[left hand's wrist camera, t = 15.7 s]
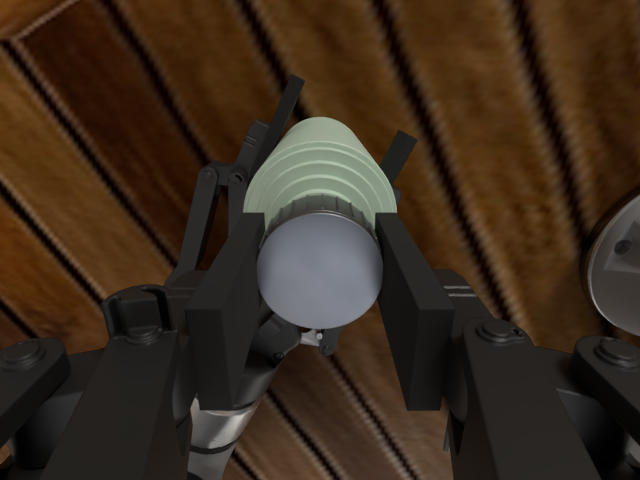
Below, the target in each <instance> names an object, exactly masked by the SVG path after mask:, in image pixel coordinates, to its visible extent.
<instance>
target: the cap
mask: <svg viewBox="0 0 640 480" xmlns="http://www.w3.org/2000/svg"><path fill="white" fill-rule="evenodd" d="M377 240H378V239H377V236H376V234H375V231H374V228H373V226H372V223H371V222H369V221H368V220H367V218H366V217H365V215H364V213H363V211H360V210H359V209H357V208H356V207H355V206H354V205H353V204H352V202H350V203H349V202H347V201H345V200H342V199H340V198H339V197H338V196H336V197H333V196H327V195H324V194H321V195H313V196H309V195H306V197H303V198H300V199H297V200H292V202H291V203H289V204H288V205H286V206H285V207H284V208H282V207H281V208H280V210H279V212H278V213H277V214H276V216H275V217H274V218H271V220H270V222H269V225H268V228H267V230H265V232H264V235H263V237H262V240H261V242H260V245H259V247H258V249H259V253H258V256H257V260H256V267H257V282H258V289H259V291H260V293H261V295H262V297H263V299H264V301H265V302H266V303H267V305H268V306H269V307H270V308H271V309H272V310H273V311H274V312H275V313H276V314H277V315H278V316H280V317H281V318H283V319H284V320H286V321H288V322H290V323H292V324H295V325H298V326H301V327H305V328H312V329H328V328H334V327H339V326H342V325H345V324H347V323H350V322H352V321H354V320H355V319H357V318H358V317H360V316H361V315H362V314H364V313H365V312H366V311H367V310H368V309H369V308H370V307H371V306H372V304H373V303H374V302H375V300H376V299H377V297H378V295H379V293H380V291H381V288H382V279H383V257H382V251H381V249H380V246H379V243H378V241H377Z"/></svg>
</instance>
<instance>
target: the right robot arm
mask: <svg viewBox="0 0 640 480" xmlns="http://www.w3.org/2000/svg"><path fill="white" fill-rule="evenodd" d="M304 83H305V80H303V79H301V78H299V77H297V76H295V75H293V74H291V77H290V79H289V81H288V84H287V86H286V89H285V91H284V93H283V96H282V98H281V100H280V103H279V105H278V108H277V110H276V112H275V115H274V117H273V119H272V122H271V124H269V123H267V122H265V121H263V120H261V119H258V120H256V121H255V122H254V123H253V124H252V125H251V126H250V127H249V130H248V132H247V135H246V137H245V140H244V142H243V145H242V147H241V150H240V152H239V155H238V157H237V159H236V161H235V163H222V162H220V161H213V162H211V163H210V164H208V165H207V166H205V167H204V168H202V169H201V170H200V172H199V174H198V178H197V183H196V187H195V191H194V196H193V200H192V204H191V209H190V213H189V217H188V222H187V226H186V230H185V235H184V239H183V243H182V248H181V252H180V256H179V261H178V265H177V267H176V268H175V270H174V271H173V272H172V274H171V275H170V276H169V278H168V279H167V280H166V282H165V284H164V286H165V287H167V288H168V289H169V290H170V287H171V286H172V284H173V283H174V282H175V280H176V279H177V278H178V277H180V276H182V275H183V274H185V273H187V272H188V271H190V270H203V268H202V267H201V266H199V264H200V262H201V261H202V259H203V257H204V254H205V251H206V247H207V243H208V239H209V235H210V231H211V227H212V223H213V219H214V216H215V212H216V208H217V204H218V200H219V196H220V192H221V188H222V185H226V186H228V237H229V235H230V234H231V232H232V231H233V229H234V227H235V226H236V224H237V222H238V221H239V219H240V218H241V216H242V214H243V208H244V200H245V196H246V192H247V190H248V187H249V185H250V183H251V181H252V179H253V176H255V174H256V173H257V171H258V170H259V169H260V167H261V166H262V165H263V164H264V162H265V161H266V160H267V158H268V157H269V156H270V154H271V153H272V152H273V150H274V149H275V148H276V146H277V145H278V142H279V140H280V138H281V135H282V133H283V131H284V128H285V126H286V124H287V122H288V119H289V117H290V115H291V112H292V110H293V108H294V105H295V103H296V101H297V99H298V96H299V94H300V92H301V89H302V87H303V85H304ZM416 142H417V139H416V138H414V137H412V136H410V135H408V134H406V133H404V132H402V131H400V130H398V132H397V134H396V136H395V138H394V140H393V141H392V143H391V145H390V147H389V149H388V151H387V152H386V154H385V156H384V158H383V160H382V162H381V164H380V165H379V167H380V169H381V170H382V171H383V173H384V174H385V176H386V178H387V179H388V181H389V183H390V185H391V187H392V190H393V193H394V196H395V201H396V206H397V205H398V203H399V201H400V198H401V191H400V190H399V189H398V187H396V186H394V185H393V183H394V181H395V179H396V178H397V176H398V174H399V172H400V170H401V169H402V167H403V165H404V163H405V162H406V160H407V158H408V156H409V155H410V153H411V151H412V149H413V147H414V146H415V144H416ZM345 325H346V324H345ZM345 325H342V326H339V327H334V328H328V329H312V328H305V327H301V326H298V325H295V324H292V323H290V322H288V321H286V320H284V319H283V318H281V317H280V316H278V315H277V314H276V313H275V312H274V311H273V310H272V309H271V308H270V307H269V306H268V305H267V303H266V302H265V301H264V299H263V300H262V304H261V307H260V311H259V315H258V318H257V322H256V326H255V329H254V333H253V337H252V340H251V344H250V348H249V351H248V355H247V359H246V363H245V366H244V370H243V374H242V377H241V381H240V385H239V388H238V392H237V396H236V399H235V403H234V407H233V410H232V411H200V409H199V403H198V396H197V393H196V396H195V398H194V401H193V403H192V406H191V408H190V409H191V415H192V422H193V430H192V438H191V446H190V454H189V462H188V470H187V478H186V480H222V476H223V473H224V469H225V466H226V464H227V461H228V459H229V457H230V455H231V453H232V451H233V449H234V447H235V445H236V443H237V442H238V440H239V438H240V436H241V435H242V433H243V431H244V429H245V427H246V426H247V424H248V422H249V420H250V419H251V417H252V415H253V414H254V412H255V410H256V408H257V407H258V405H259V403H260V401H261V400H262V397H263V394H264V393H265V392H266V390H267V388H268V387H269V385H270V383H271V381H272V379H273V377H274V376H275V374H276V372H277V370H278V368H279V367H280V365H281V363H282V361H283V359H284V357H285V356H286V354H287V353H288V352H289V351H290V350H292V349H293V348H295V347H297V346H298V345H299V344H300V343H302V344H307V345H313V346H318V347H319V352H320V353H321V354H322V355H325V356H328V355H331V354H332V353H333V352H334V350H335V347H336V343H337V340H338V336H339V333H340V332H341V330H342V329H343V328H344V327H345Z"/></svg>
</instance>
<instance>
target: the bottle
mask: <svg viewBox="0 0 640 480" xmlns="http://www.w3.org/2000/svg"><path fill="white" fill-rule="evenodd" d="M321 194H324V195H327V196H333V197H336V196H338V197H339V198H340V199H342V200H345V201H347V202H349V203H350V202H352V204H353V205H354V206H355V207H356V208H357V209H359V210H360V211H363V213H364V215H365V217H366V218H367V220H368V221H369V222H371V223H372V226H373V228H375V212H396V213H397V208H396V201H395V196H394V193H393V190H392V187H391V185H390V183H389V181H388V179H387V178H386V176H385V174H384V173H383V171H382V170H381V169H380V167H379V166H378V165H377V163H376V162H375V161H374V160H373V158H372V157H371V156H370V154H369V153H368V152H367V150H366V149H365V148H364V146H363V145H362V144H361V142H360V141H359V140H358V139H357V137H356V136H355V135H354V133H353V132H352V131H351V130H350V129H349V128H348V127H347V126H345V125H344V124H342V123H341V122H339V121H337V120H334V119H331V118H326V117H313V118H309V119H306V120H303V121H301V122H299V123H297V124H296V125H295V126H293V127H292V128H291V129H290V130H289V131H288V132H287V133H286V135H285V136H284V137H283V139H282V140H281V141H280V143H279V144H278V145H277V146H276V148H275V149H274V150H273V152H272V153H271V154H270V156H269V157H268V158H267V160H266V161H265V162H264V164H263V165H262V166H261V167H260V169H259V170H258V171H257V173H256V174H255V176H254V177H253V179H252V181H251V183H250V185H249V187H248V190H247V192H246V196H245V200H244V208H243V213H244V212H264V214H265V230H267V228H268V225H269V222H270V220H271V218H274V217H275V216H276V214H277V213H278V212H279V210H280V208H281V207H282V208H284V207H285V206H286V205H288V204H289V203H291V202H292V200H297V199H300V198H303V197H306V195H309V196H313V195H321Z"/></svg>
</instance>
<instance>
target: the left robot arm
mask: <svg viewBox="0 0 640 480" xmlns="http://www.w3.org/2000/svg"><path fill="white" fill-rule="evenodd" d="M374 231H375V234H376V236H377V239H378V240H377V241H378V243H379V246H380V249H381V251H382V257H383V279H382V288H381V291H380V293H379V295H378V297H377V301H378V304H379V308H380V312H381V316H382V319H383V323H384V327H385V330H386V334H387V338H388V341H389V345H390V349H391V352H392V356H393V360H394V363H395V367H396V371H397V374H398V378H399V382H400V386H401V389H402V393H403V397H404V400H405V404H406V408H407V411H440V408H441V401H442V394H443V392H444V395H445V397H446V399H447V402H448V404H449V407H450V409H449V415H448V421H447V427H446V433H445V440H444V446H443V451H447V452H448V449H449V445H450V453H451V461H452V469H453V478H454V480H640V349H639V348H637V347H635V346H633V345H630V344H628V343H626V342H625V341H622V340H619V339H616V338H615V339H613V338H612V337H607V336H593V335H592V336H586V337H581V338H580V339H579V340H578V341H576V344H575V347H574V350H573V354H572V353H567V352H561V351H556V350H551V349H546V348H541V347H537V346H534V344H533V342H532V340H531V338H530V337H529V336H528V335H527V334H526V332H525V331H524V330H522V329H521V328H519V327H517V326H516V325H514V324H512V323H509V322H507V321H504V320H501V319H496V318H494V317H493V316H492V314H491V313H490V312H489V311H488V309H487V308H486V307H485V305H484V304H483V303H482V301H481V300H480V299H479V297H478V296H476V293H475V292H474V291H473V290H472V288H470V286H469V284H468V283H467V282H466V280H465V279H464V278H463V277H462V276H460V275H459V274H457V273H455V272H454V271H452V270H451V269H431V268H430V267H429V265H428V263H427V262H426V260H425V258H424V257H423V255H422V254H421V252H420V250H419V249H418V247H417V246H416V244H415V242H414V241H413V239H412V237H411V236H410V234H409V233H408V231H407V229H406V228H405V226H404V224H403V223H402V221H401V220H400V218H399V216H398V215H397V213H396V212H375V228H374ZM264 232H265V214H264V212H244V213H243V214H242V216H241V218H240V219H239V221H238V222H237V224H236V226H235V227H234V229H233V231H232V232H231V234H230V235H229V237H228V239H227V240H226V242H225V243H224V245H223V247H222V248H221V250H220V252H219V253H218V255H217V256H216V258H215V260H214V261H213V263H212V265H211V266H210V268H209V269H208V270H190V271H188V272H187V273H185V274H183V275H182V276H180V277H178V278H177V279H176V280H175V282H174V283H173V284H172V286H171V287H170V290H169V289H168V288H167V287H165V286H160V285H139V286H133V287H129V288H126V289H123V290H120V291H118V292H116V293H114V294H112V295H110V296H109V297H107V298H106V299H105V300H104V301H103V302H102V303H101V305H102V309H103V314H104V318H105V322H106V326H107V330H108V334H109V338H110V339H109V341H108V343H107V345H106V347H105V348H102V349H98V350H93V351H88V352H82V353H77V354H72V355H67V351H66V348H65V345H64V343H63V342H62V341H60V340H59V339H55V338H50V337H46V338H33V339H28V340H27V341H25V340H24V341H21V342H18V343H16V344H14V345H12V346H10V347H7V348H5V349H3V350H1V351H0V449H1V448H2V447H3V446H4V444H5V443H7V445H8V448H9V450H10V453H11V454H10V455H9V456H8V457H7V459H6V460H5V461H4V462H3V463H1V464H0V480H186V478H187V470H188V462H189V454H190V446H191V438H192V430H193V422H192V415H191V409H190V408H191V406H192V403H193V401H194V398H195V396H196V393H197V396H198V403H199V409H200V411H232V410H233V407H234V403H235V399H236V396H237V392H238V388H239V385H240V381H241V377H242V374H243V370H244V366H245V363H246V359H247V355H248V351H249V348H250V344H251V340H252V337H253V333H254V329H255V326H256V322H257V318H258V315H259V311H260V307H261V304H262V300H263V297H262V295H261V293H260V291H259V289H258V282H257V267H256V260H257V256H258V253H259V249H258V247H259V245H260V242H261V240H262V237H263V235H264ZM580 274H581V284H582V288H583V291H584V294H585V296H586V298H587V300H588V301H589V303H590V304H591V305H592V307H593V308H594V309H595V310H596V311H597V312H598V313H600V314H601V315H602V316H603V317H605V318H606V319H607V320H608V321H610V322H611V323H613V324H614V325H616V326H618V327H619V328H621V329H623V330H625V331H627V332H629V333H632V334H634V335H637V336H640V186H639V187H637V188H636V189H634V190H632V191H631V192H630V193H628V194H627V195H626V196H624V197H623V198H622V199H620V200H619V201H618V202H617V203H616V204H615V205H614V206H613V207H612V208H611V209H610V210H609V211H608V212H607V213H606V214H605V215H604V216H603V218H602V219H601V220H600V222H599V223H598V224H597V226H596V227H595V229H594V230H593V232H592V234H591V236H590V238H589V240H588V242H587V244H586V247H585V249H584V253H583V256H582V261H581V270H580Z"/></svg>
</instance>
